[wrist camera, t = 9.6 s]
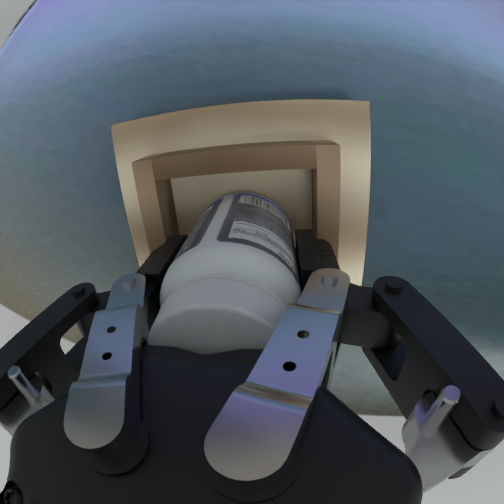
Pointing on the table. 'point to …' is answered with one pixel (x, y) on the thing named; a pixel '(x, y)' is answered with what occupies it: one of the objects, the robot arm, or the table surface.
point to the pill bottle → (229, 278)
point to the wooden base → (251, 169)
